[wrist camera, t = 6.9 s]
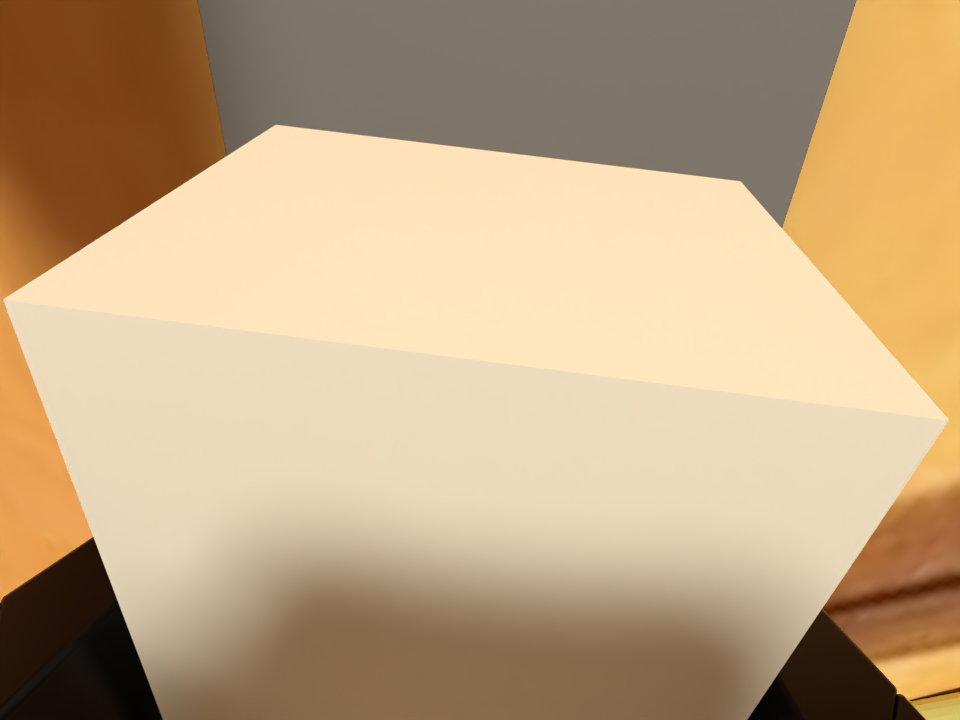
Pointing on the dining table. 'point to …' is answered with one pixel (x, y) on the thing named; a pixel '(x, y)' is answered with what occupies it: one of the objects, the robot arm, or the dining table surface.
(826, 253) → the dining table surface
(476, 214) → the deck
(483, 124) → the mat
